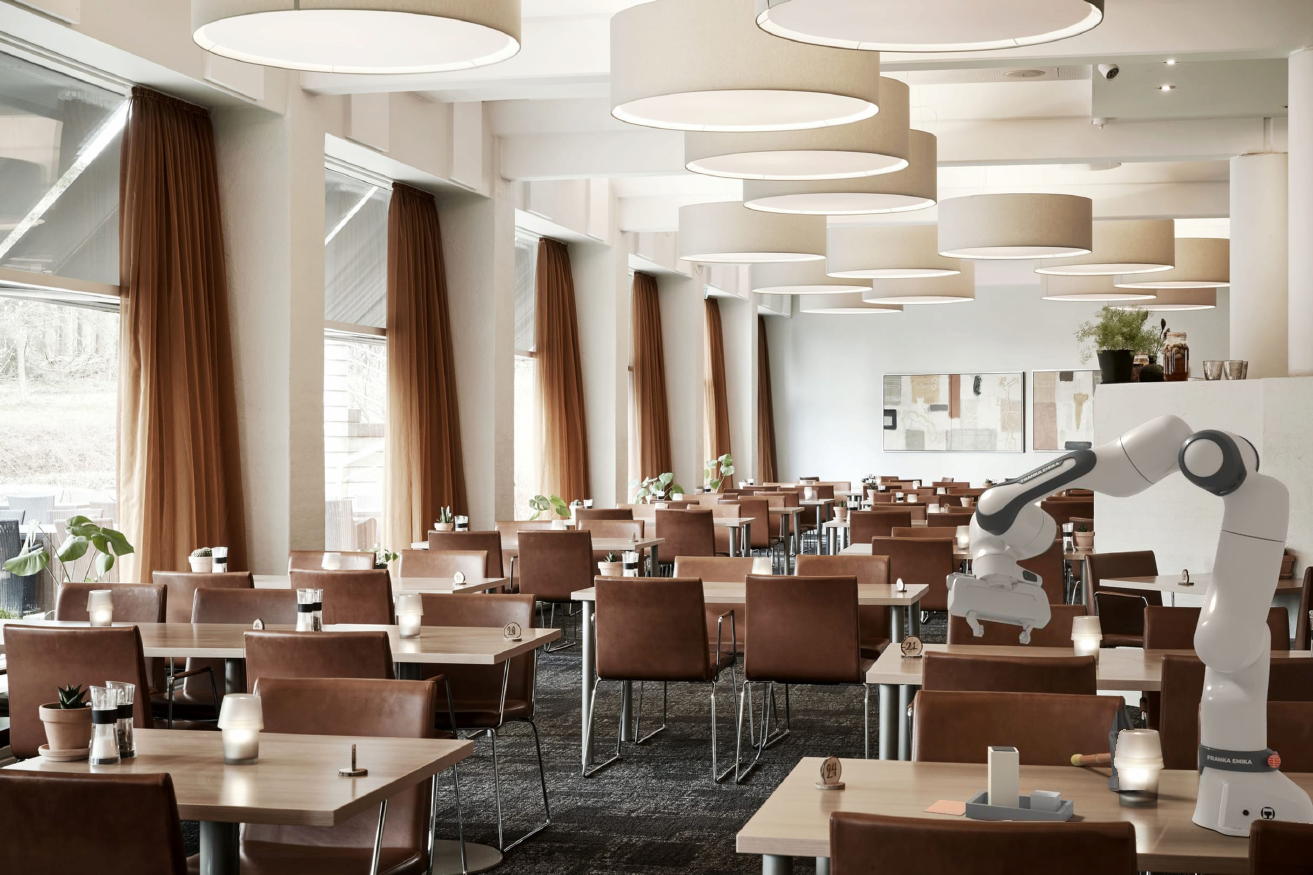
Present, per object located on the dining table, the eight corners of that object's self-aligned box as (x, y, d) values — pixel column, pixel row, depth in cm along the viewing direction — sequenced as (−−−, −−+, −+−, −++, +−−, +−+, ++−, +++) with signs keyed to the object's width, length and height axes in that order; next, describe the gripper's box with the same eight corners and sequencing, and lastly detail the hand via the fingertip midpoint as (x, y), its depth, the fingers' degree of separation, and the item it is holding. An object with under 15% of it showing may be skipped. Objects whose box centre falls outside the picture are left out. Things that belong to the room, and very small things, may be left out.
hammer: (1086, 718, 311) (1140, 709, 282) (1092, 792, 307) (1148, 790, 278) (1060, 718, 311) (1112, 709, 282) (1065, 792, 307) (1119, 790, 278)
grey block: (1060, 817, 257) (1060, 792, 257) (1055, 822, 253) (1055, 797, 253) (1035, 814, 259) (1035, 790, 259) (1030, 819, 255) (1030, 794, 255)
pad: (976, 806, 267) (976, 803, 267) (960, 818, 257) (960, 815, 257) (940, 802, 270) (940, 799, 270) (923, 814, 260) (923, 810, 260)
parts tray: (1073, 816, 259) (1073, 800, 259) (1060, 830, 249) (1060, 813, 249) (981, 806, 267) (981, 790, 267) (965, 819, 256) (965, 803, 256)
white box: (1015, 811, 261) (1015, 746, 262) (1018, 817, 256) (1018, 751, 257) (988, 810, 262) (988, 745, 262) (991, 816, 257) (991, 750, 257)
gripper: (950, 562, 277) (956, 622, 268) (1049, 577, 279) (1058, 637, 270) (940, 579, 281) (945, 638, 273) (1037, 594, 284) (1045, 654, 275)
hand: (1002, 638), depth 271 cm, fingers open, 8 cm apart
